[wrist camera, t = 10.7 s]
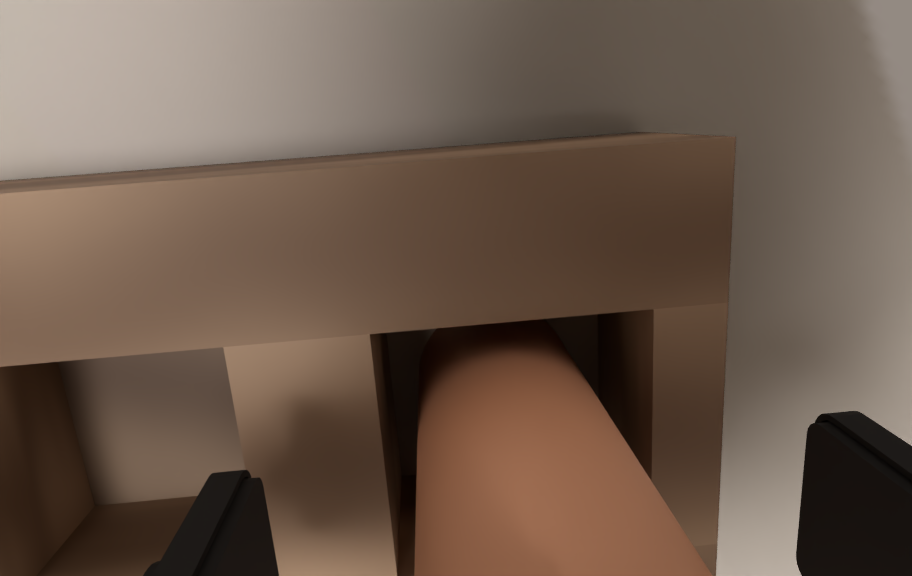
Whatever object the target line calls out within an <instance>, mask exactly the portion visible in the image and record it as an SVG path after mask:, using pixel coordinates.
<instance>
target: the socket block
mask: <svg viewBox="0 0 912 576" xmlns="http://www.w3.org/2000/svg"><path fill="white" fill-rule="evenodd" d="M735 145H736V137H727V136H708V135H689V134H669V133H650V132H636V133H622V134H609V135H596V136H583V137H570V138H557V139H544V140H531V141H518V142H504V143H491V144H478V145H465V146H452V147H439V148H426V149H413V150H399V151H386V152H373V153H360V154H347V155H334V156H321V157H308V158H295V159H281V160H268V161H255V162H242V163H229V164H216V165H203V166H190V167H177V168H163V169H150V170H137V171H124V172H111V173H98V174H85V175H72V176H58V177H45V178H32V179H19V180H6V181H0V576H143V575H144V573H145V571H146V570H147V569H148V568H149V566H150V565H151V564H153V563H155V562H157V561H160V560H161V559H162V557H163V555H164V554H165V552H166V550H167V548H168V547H169V545H170V543H171V541H172V540H173V538H174V536H175V534H176V533H177V531H178V529H179V527H180V526H181V524H182V522H183V521H184V519H185V517H186V515H187V514H188V512H189V510H190V508H191V507H192V505H193V503H194V501H195V500H196V498H197V496H198V494H199V493H200V491H201V489H202V487H203V486H204V484H205V482H206V481H207V479H208V477H209V476H210V475H211V473H217V472H227V471H238V470H248V471H249V473H250V475H251V478H257V477H259V478H261V480H262V482H263V487H264V492H265V498H266V504H267V509H268V515H269V521H270V526H271V532H272V538H273V543H274V549H275V555H276V560H277V566H278V572H279V576H414V570H415V524H416V478H417V432H418V387H419V366H420V360H421V356H422V353H423V350H424V348H425V345H426V344H427V342H428V340H429V338H430V337H431V335H432V334H433V333H434V331H435V330H436V329H437V328H446V327H458V326H469V325H480V324H492V323H503V322H514V321H526V320H537V319H544V320H545V321H546V322H547V323H548V324H549V325H550V326H551V327H552V329H553V330H554V331H555V332H556V334H557V335H558V337H559V339H560V340H561V342H562V343H563V345H564V346H565V348H566V349H567V351H568V353H569V354H570V356H571V357H572V359H573V360H574V362H575V363H576V365H577V366H578V368H579V370H580V371H581V373H582V374H583V376H584V377H585V379H586V380H587V382H588V384H589V385H590V387H591V388H592V390H593V391H594V393H595V394H596V396H597V397H598V399H599V401H600V402H601V404H602V405H603V407H604V408H605V410H606V411H607V413H608V415H609V416H610V418H611V419H612V421H613V422H614V424H615V425H616V427H617V428H618V430H619V432H620V433H621V435H622V436H623V438H624V439H625V441H626V442H627V444H628V446H629V447H630V449H631V450H632V452H633V453H634V455H635V456H636V458H637V459H638V461H639V463H640V464H641V466H642V467H643V469H644V470H645V472H646V473H647V475H648V477H649V478H650V480H651V481H652V483H653V484H654V486H655V487H656V489H657V490H658V492H659V494H660V495H661V497H662V498H663V500H664V501H665V503H666V504H667V506H668V507H669V509H670V511H671V512H672V514H673V515H674V517H675V518H676V520H677V521H678V523H679V525H680V526H681V528H682V529H683V531H684V532H685V534H686V535H687V537H688V538H689V540H690V542H691V543H692V545H693V546H694V548H695V549H696V551H697V552H698V554H699V556H700V557H701V559H702V560H703V562H704V563H705V565H706V566H707V568H708V569H709V571H710V573H711V574H712V576H716V559H717V538H718V516H719V494H720V472H721V450H722V428H723V407H724V385H725V363H726V341H727V319H728V297H729V276H730V254H731V232H732V210H733V188H734V166H735Z"/></svg>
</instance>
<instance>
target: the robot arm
mask: <svg viewBox="0 0 912 576" xmlns="http://www.w3.org/2000/svg"><path fill="white" fill-rule="evenodd" d="M796 560H797V565H798V568H799V571H800V573H801V575H802V576H912V446H911V445H909V444H908V443H906V442H905V441H903V440H901V439H900V438H898V437H897V436H895V435H894V434H892V433H891V432H889V431H888V430H886V429H885V428H883V427H882V426H880V425H879V424H877V423H876V422H874V421H873V420H871V419H870V418H868V417H867V416H865V415H864V414H862V413H860V412H858V411H848V412H838V413H828V414H821V415H820V416H818V418H817V419H816V421H815V423H813V424H811V425H810V426H809V428H808V431H807V439H806V450H805V461H804V472H803V484H802V495H801V506H800V517H799V529H798V540H797V551H796ZM143 576H279V572H278V566H277V560H276V555H275V549H274V543H273V538H272V532H271V526H270V521H269V515H268V509H267V504H266V498H265V492H264V487H263V482H262V480H261V478H259V477H257V478H251V475H250V473H249V471H248V470H238V471H227V472H217V473H211V475H210V476H209V477H208V479H207V481H206V482H205V484H204V486H203V487H202V489H201V491H200V493H199V494H198V496H197V498H196V500H195V501H194V503H193V505H192V507H191V508H190V510H189V512H188V514H187V515H186V517H185V519H184V521H183V522H182V524H181V526H180V527H179V529H178V531H177V533H176V534H175V536H174V538H173V540H172V541H171V543H170V545H169V547H168V548H167V550H166V552H165V554H164V555H163V557H162V559H161V560H160V561H157V562H155V563H153V564H151V565H150V566H149V568H148V569H147V570H146V571H145V573H144V575H143Z"/></svg>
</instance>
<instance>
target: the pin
mask: <svg viewBox="0 0 912 576" xmlns="http://www.w3.org/2000/svg"><path fill="white" fill-rule="evenodd" d="M414 576H712V574H711V573H710V571H709V569H708V568H707V566H706V565H705V563H704V562H703V560H702V559H701V557H700V556H699V554H698V552H697V551H696V549H695V548H694V546H693V545H692V543H691V542H690V540H689V538H688V537H687V535H686V534H685V532H684V531H683V529H682V528H681V526H680V525H679V523H678V521H677V520H676V518H675V517H674V515H673V514H672V512H671V511H670V509H669V507H668V506H667V504H666V503H665V501H664V500H663V498H662V497H661V495H660V494H659V492H658V490H657V489H656V487H655V486H654V484H653V483H652V481H651V480H650V478H649V477H648V475H647V473H646V472H645V470H644V469H643V467H642V466H641V464H640V463H639V461H638V459H637V458H636V456H635V455H634V453H633V452H632V450H631V449H630V447H629V446H628V444H627V442H626V441H625V439H624V438H623V436H622V435H621V433H620V432H619V430H618V428H617V427H616V425H615V424H614V422H613V421H612V419H611V418H610V416H609V415H608V413H607V411H606V410H605V408H604V407H603V405H602V404H601V402H600V401H599V399H598V397H597V396H596V394H595V393H594V391H593V390H592V388H591V387H590V385H589V384H588V382H587V380H586V379H585V377H584V376H583V374H582V373H581V371H580V370H579V368H578V366H577V365H576V363H575V362H574V360H573V359H572V357H571V356H570V354H569V353H568V351H567V349H566V348H565V346H564V345H563V343H562V342H561V340H560V339H559V337H558V335H557V334H556V332H555V331H554V330H553V329H552V327H551V326H550V325H549V324H548V323H547V322H546V321H545V320H544V319H537V320H526V321H514V322H503V323H492V324H480V325H469V326H458V327H446V328H437V329H436V330H435V331H434V333H433V334H432V335H431V337H430V338H429V340H428V342H427V344H426V345H425V348H424V350H423V353H422V356H421V360H420V366H419V387H418V432H417V478H416V524H415V570H414Z"/></svg>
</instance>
